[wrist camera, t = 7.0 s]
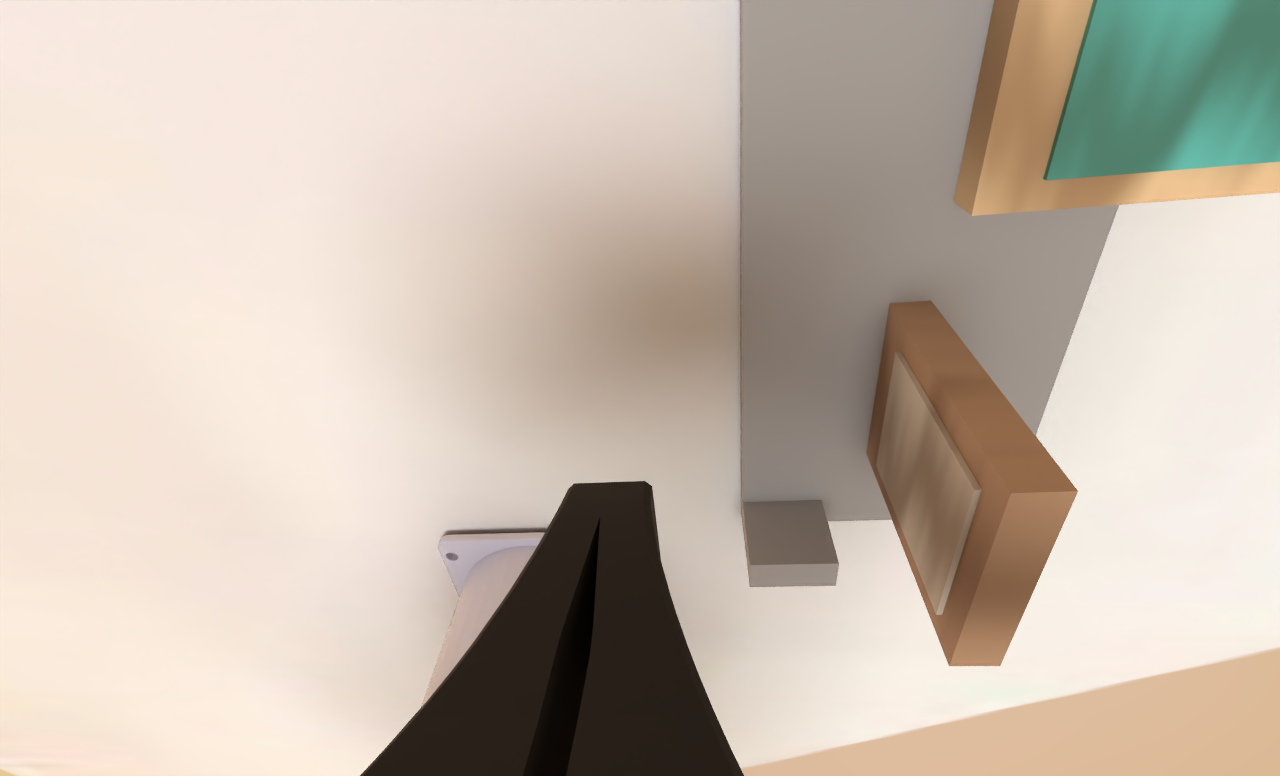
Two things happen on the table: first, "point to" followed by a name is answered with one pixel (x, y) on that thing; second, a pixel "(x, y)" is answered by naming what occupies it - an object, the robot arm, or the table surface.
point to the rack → (872, 253)
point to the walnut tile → (961, 485)
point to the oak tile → (1123, 104)
